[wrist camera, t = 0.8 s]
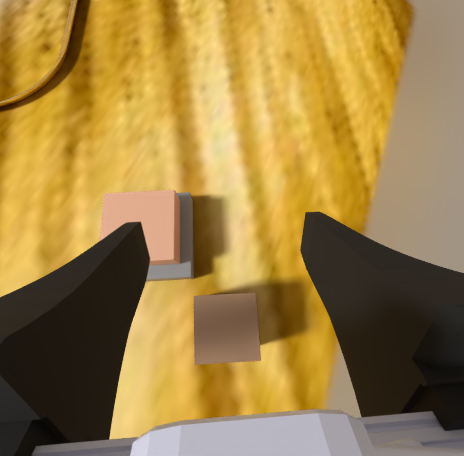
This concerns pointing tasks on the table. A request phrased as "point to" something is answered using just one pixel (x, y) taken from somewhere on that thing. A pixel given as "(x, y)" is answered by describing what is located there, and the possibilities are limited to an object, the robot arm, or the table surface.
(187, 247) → the gray slab
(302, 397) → the table surface
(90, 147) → the table surface
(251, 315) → the walnut block
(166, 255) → the terracotta cap
